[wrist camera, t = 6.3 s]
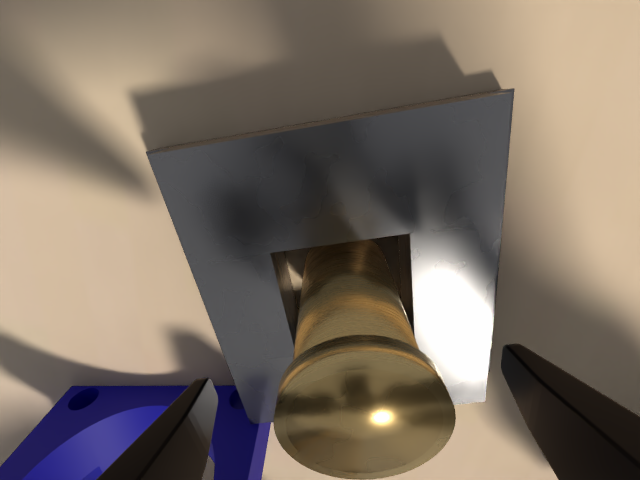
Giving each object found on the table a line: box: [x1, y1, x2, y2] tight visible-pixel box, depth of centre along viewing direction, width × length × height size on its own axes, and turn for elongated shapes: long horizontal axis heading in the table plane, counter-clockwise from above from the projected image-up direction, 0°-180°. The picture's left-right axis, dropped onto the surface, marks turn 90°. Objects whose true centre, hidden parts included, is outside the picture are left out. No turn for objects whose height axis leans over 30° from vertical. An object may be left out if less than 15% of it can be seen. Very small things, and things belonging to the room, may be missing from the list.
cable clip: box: [0, 386, 271, 480], centre depth 17 cm, size 12×4×6 cm, turn 91°
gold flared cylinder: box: [274, 239, 456, 480], centre depth 12 cm, size 5×5×8 cm
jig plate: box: [146, 89, 514, 424], centre depth 14 cm, size 14×14×2 cm
